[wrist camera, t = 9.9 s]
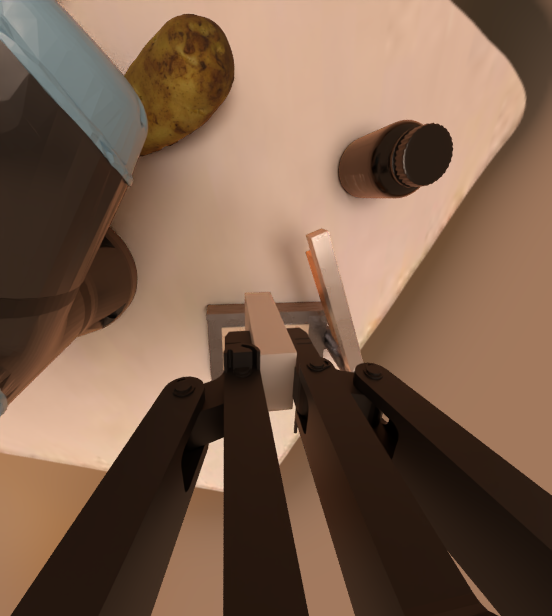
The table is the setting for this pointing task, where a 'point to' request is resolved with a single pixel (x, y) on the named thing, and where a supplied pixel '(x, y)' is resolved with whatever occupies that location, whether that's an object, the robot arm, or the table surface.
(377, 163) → the supplement bottle
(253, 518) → the robot arm
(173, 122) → the potato
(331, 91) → the table surface
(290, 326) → the metal plate with cutouts
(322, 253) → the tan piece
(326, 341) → the post
